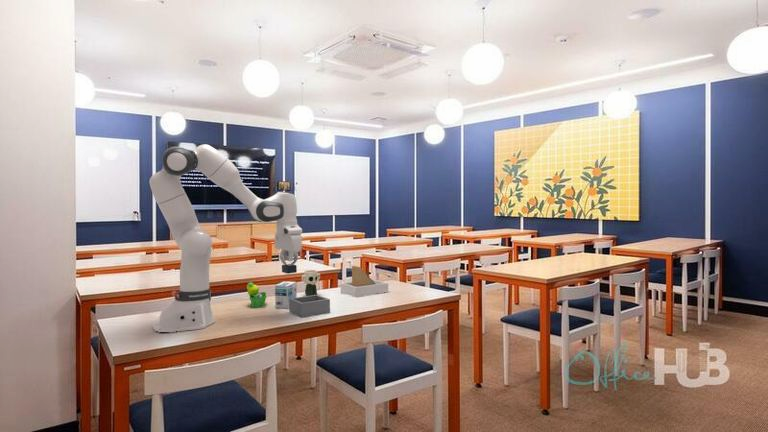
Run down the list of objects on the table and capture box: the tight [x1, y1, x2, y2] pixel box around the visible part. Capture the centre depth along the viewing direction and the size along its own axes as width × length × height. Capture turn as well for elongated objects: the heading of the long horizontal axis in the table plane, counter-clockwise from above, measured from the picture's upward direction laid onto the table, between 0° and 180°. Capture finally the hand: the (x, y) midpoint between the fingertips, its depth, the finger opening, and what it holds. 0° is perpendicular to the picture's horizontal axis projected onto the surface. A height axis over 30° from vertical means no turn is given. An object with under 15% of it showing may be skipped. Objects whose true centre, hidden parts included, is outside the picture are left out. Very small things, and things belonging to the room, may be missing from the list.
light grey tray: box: [340, 278, 389, 298], centre depth 249 cm, size 21×15×5 cm
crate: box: [288, 294, 331, 319], centre depth 206 cm, size 14×12×6 cm
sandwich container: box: [351, 265, 375, 287], centre depth 249 cm, size 9×15×15 cm, turn 126°
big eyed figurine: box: [301, 269, 321, 296], centre depth 241 cm, size 11×7×13 cm, turn 130°
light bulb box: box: [274, 280, 298, 309], centre depth 218 cm, size 11×7×11 cm, turn 168°
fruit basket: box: [246, 282, 267, 309], centre depth 219 cm, size 11×9×11 cm
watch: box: [279, 249, 299, 275], centre depth 201 cm, size 6×8×11 cm
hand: (287, 260), depth 200 cm, fingers closed on watch, 3 cm apart
